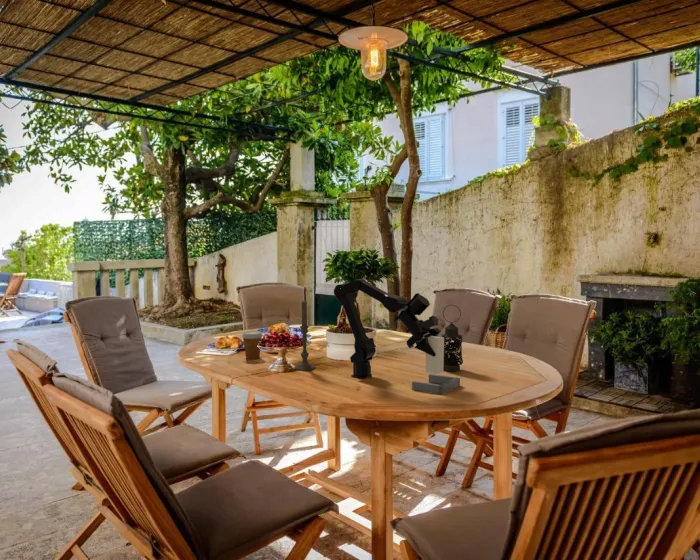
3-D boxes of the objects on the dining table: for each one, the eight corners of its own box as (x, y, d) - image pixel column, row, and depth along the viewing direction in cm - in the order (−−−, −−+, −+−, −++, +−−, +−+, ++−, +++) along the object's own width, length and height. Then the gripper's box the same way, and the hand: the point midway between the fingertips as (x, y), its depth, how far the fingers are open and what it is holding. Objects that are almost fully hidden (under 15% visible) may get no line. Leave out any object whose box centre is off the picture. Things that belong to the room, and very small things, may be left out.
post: (425, 372, 224) (426, 337, 223) (431, 369, 228) (432, 336, 227) (437, 373, 221) (438, 339, 221) (443, 371, 226) (443, 337, 225)
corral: (412, 389, 222) (412, 381, 222) (430, 381, 234) (430, 373, 234) (442, 394, 215) (442, 386, 214) (459, 385, 227) (459, 378, 227)
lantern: (463, 368, 256) (464, 303, 254) (462, 373, 248) (462, 306, 246) (441, 367, 259) (441, 303, 257) (438, 371, 250) (438, 305, 248)
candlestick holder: (302, 365, 265) (301, 298, 263) (319, 367, 261) (318, 299, 258) (290, 369, 258) (289, 300, 255) (307, 371, 253) (306, 301, 251)
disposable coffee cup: (239, 357, 283) (238, 332, 282) (257, 354, 289) (256, 330, 288) (248, 360, 276) (247, 335, 275) (266, 358, 281) (266, 332, 280)
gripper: (413, 312, 218) (441, 344, 212) (436, 306, 233) (462, 337, 228) (395, 331, 223) (421, 364, 217) (418, 325, 238) (443, 355, 233)
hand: (438, 354), depth 224 cm, fingers closed on post, 5 cm apart
